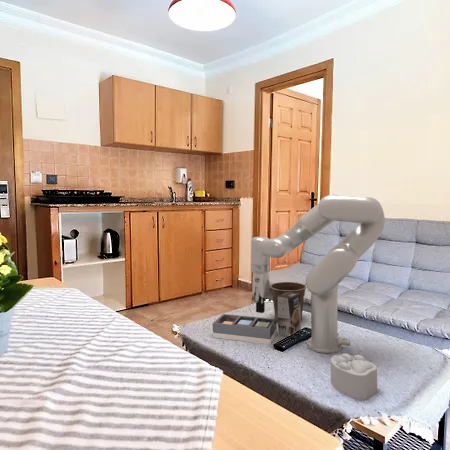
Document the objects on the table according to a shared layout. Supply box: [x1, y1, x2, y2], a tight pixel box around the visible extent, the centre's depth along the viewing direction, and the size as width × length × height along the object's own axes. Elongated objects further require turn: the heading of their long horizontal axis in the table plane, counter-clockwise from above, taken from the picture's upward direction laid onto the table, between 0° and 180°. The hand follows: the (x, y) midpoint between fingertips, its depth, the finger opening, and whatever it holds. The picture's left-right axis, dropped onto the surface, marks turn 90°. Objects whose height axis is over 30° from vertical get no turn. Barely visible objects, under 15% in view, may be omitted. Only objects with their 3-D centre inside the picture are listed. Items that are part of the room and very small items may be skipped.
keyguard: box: [212, 313, 278, 339], centre depth 146 cm, size 24×12×4 cm, turn 69°
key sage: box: [255, 322, 270, 328], centre depth 143 cm, size 5×5×2 cm
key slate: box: [237, 320, 252, 326], centre depth 145 cm, size 5×5×2 cm
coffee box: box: [277, 292, 302, 337], centre depth 147 cm, size 9×6×16 cm
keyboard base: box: [212, 328, 278, 345], centre depth 146 cm, size 24×12×2 cm, turn 69°
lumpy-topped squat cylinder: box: [330, 353, 378, 401], centre depth 104 cm, size 10×13×9 cm
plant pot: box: [269, 281, 307, 323], centre depth 161 cm, size 16×16×16 cm
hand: (260, 311), depth 143 cm, fingers closed
